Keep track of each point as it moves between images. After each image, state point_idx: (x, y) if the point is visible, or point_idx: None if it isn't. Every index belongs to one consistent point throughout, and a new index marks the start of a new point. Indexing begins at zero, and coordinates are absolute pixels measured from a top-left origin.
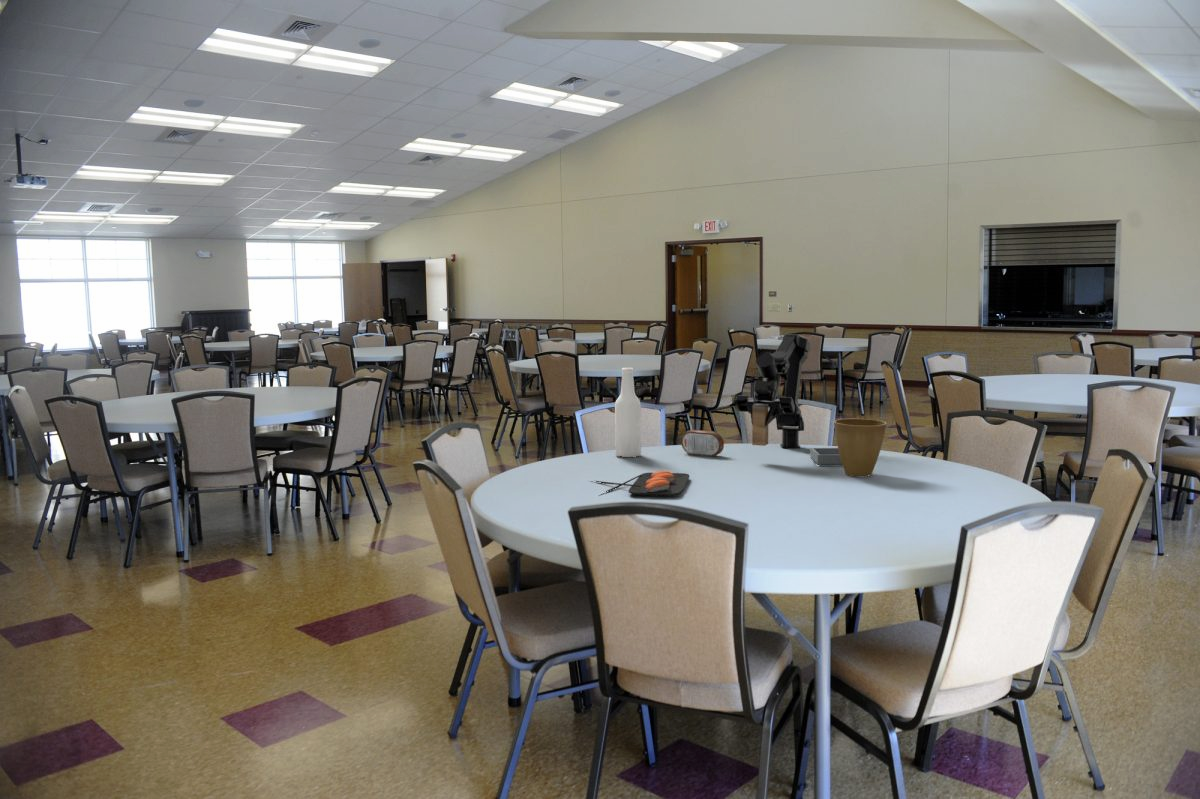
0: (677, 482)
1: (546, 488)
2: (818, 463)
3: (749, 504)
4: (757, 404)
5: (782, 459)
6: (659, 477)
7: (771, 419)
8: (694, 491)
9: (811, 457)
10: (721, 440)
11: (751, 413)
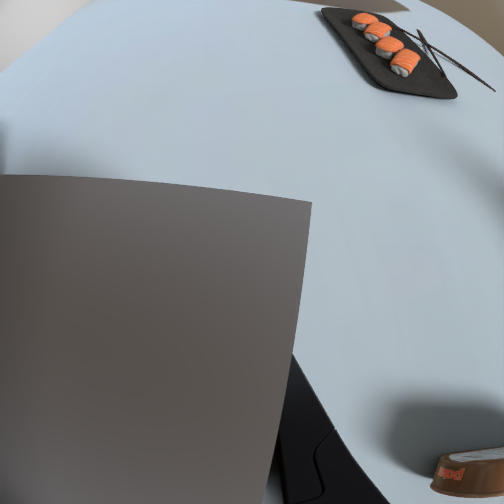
0: (369, 56)
1: (488, 63)
2: None
3: (217, 8)
4: (126, 365)
5: None
6: (379, 25)
7: None
8: (315, 31)
9: None
10: (459, 481)
11: (325, 436)
